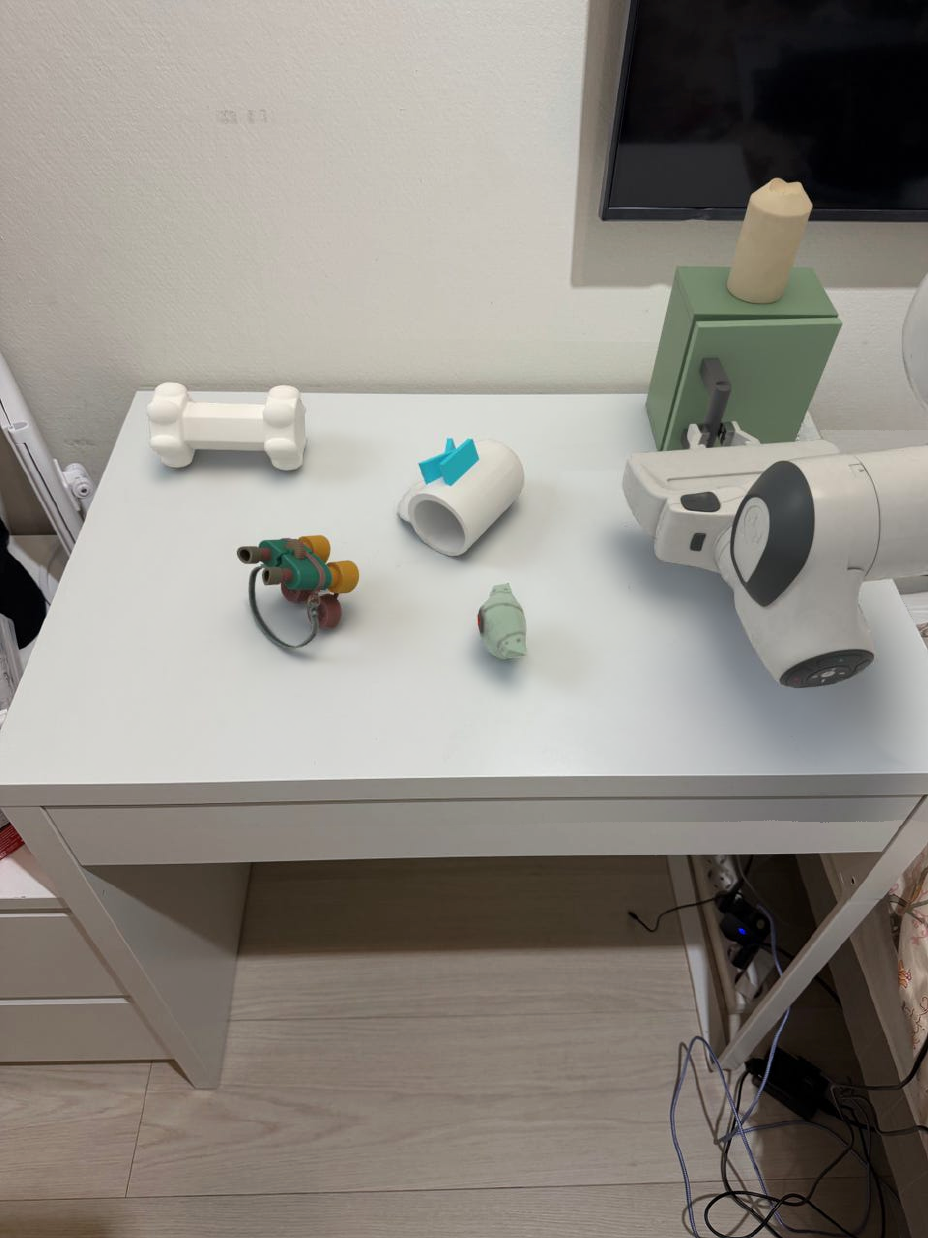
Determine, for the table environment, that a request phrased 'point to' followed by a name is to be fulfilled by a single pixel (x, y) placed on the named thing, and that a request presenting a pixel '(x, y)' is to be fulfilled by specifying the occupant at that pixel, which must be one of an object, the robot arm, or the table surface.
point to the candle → (769, 241)
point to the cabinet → (710, 300)
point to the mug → (462, 493)
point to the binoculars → (301, 579)
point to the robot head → (502, 624)
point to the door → (751, 377)
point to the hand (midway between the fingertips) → (710, 427)
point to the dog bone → (227, 426)
